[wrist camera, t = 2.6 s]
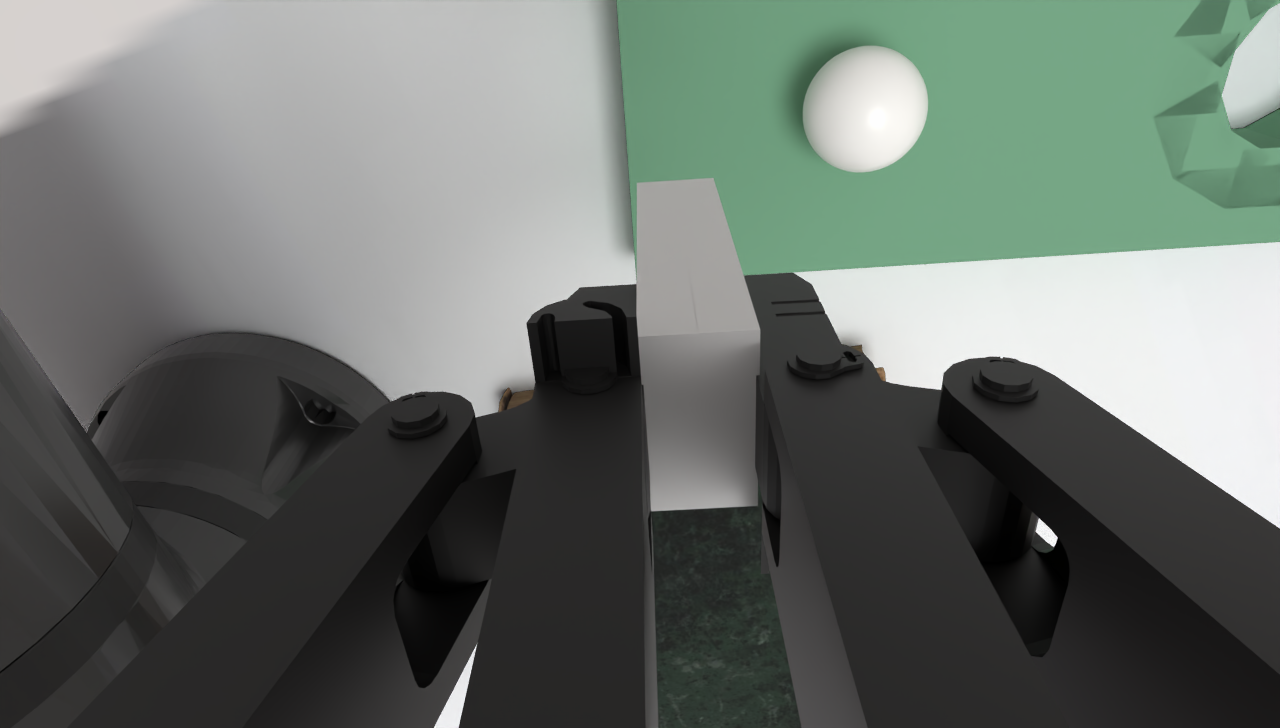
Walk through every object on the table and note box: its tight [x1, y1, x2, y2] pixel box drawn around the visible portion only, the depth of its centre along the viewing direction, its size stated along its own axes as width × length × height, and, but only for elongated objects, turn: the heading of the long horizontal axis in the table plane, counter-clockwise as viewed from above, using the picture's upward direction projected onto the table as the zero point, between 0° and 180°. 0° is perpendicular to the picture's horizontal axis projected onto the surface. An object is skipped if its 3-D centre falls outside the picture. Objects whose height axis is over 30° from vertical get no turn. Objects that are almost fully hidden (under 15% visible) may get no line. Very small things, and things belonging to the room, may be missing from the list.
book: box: [499, 345, 886, 728], centre depth 41 cm, size 17×4×25 cm
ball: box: [803, 46, 928, 172], centre depth 25 cm, size 4×4×4 cm
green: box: [616, 0, 1280, 281], centre depth 22 cm, size 32×13×17 cm, turn 94°
